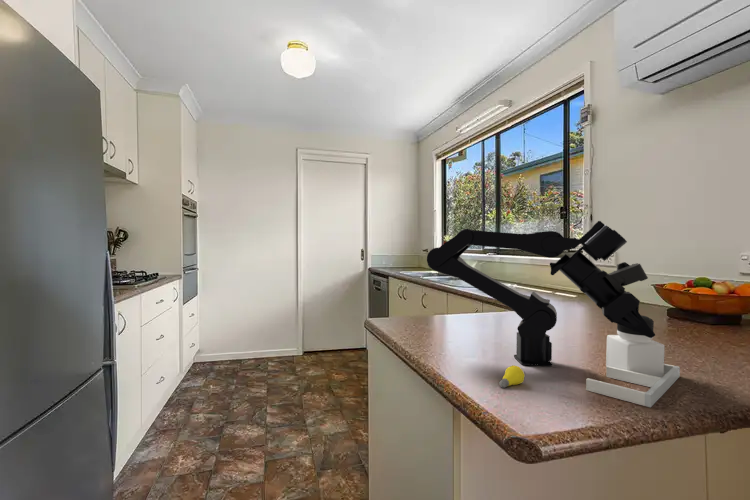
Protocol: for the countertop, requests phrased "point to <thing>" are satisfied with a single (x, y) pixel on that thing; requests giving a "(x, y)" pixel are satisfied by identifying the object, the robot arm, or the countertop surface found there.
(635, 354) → the medicine bottle
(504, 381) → the light bulb
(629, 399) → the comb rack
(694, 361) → the countertop surface
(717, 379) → the countertop surface
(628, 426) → the countertop surface
